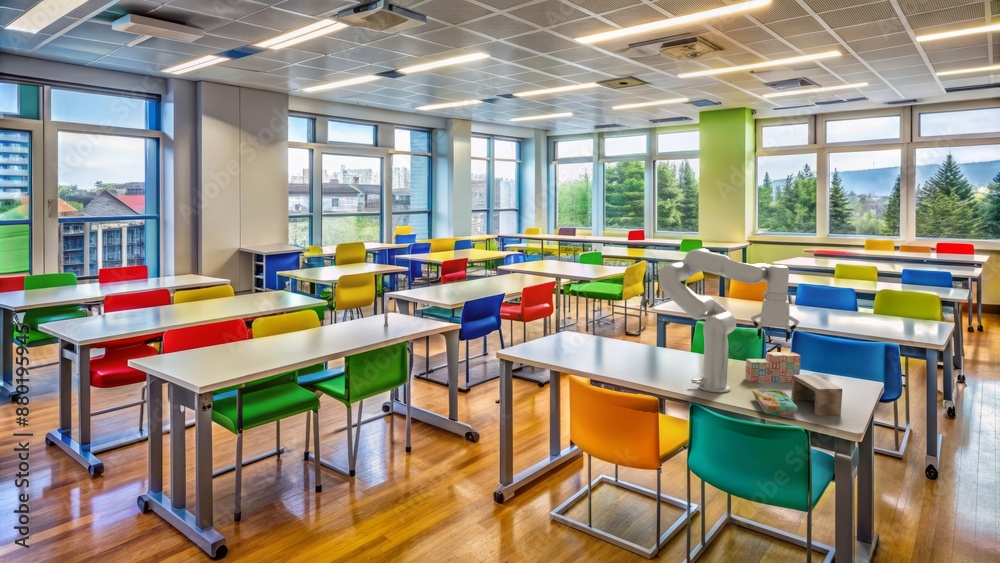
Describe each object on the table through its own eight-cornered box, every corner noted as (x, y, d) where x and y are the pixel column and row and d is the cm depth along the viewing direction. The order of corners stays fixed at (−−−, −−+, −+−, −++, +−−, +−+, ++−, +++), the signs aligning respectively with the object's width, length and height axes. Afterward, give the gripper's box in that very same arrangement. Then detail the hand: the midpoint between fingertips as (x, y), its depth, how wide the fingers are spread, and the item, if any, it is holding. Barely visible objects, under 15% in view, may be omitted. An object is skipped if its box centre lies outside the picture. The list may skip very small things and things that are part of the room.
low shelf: (816, 415, 222) (818, 389, 220) (791, 399, 240) (792, 374, 239) (840, 415, 222) (842, 388, 220) (813, 399, 240) (815, 374, 239)
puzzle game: (763, 403, 222) (752, 387, 241) (762, 415, 222) (752, 398, 242) (797, 405, 219) (784, 389, 239) (797, 417, 220) (783, 400, 239)
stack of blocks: (751, 383, 263) (752, 355, 262) (744, 379, 269) (746, 352, 268) (799, 382, 264) (801, 355, 262) (792, 378, 270) (793, 351, 268)
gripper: (752, 296, 236) (748, 339, 238) (801, 300, 228) (797, 344, 230) (753, 293, 242) (750, 335, 245) (801, 297, 235) (797, 340, 237)
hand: (773, 339), depth 238 cm, fingers open, 9 cm apart
